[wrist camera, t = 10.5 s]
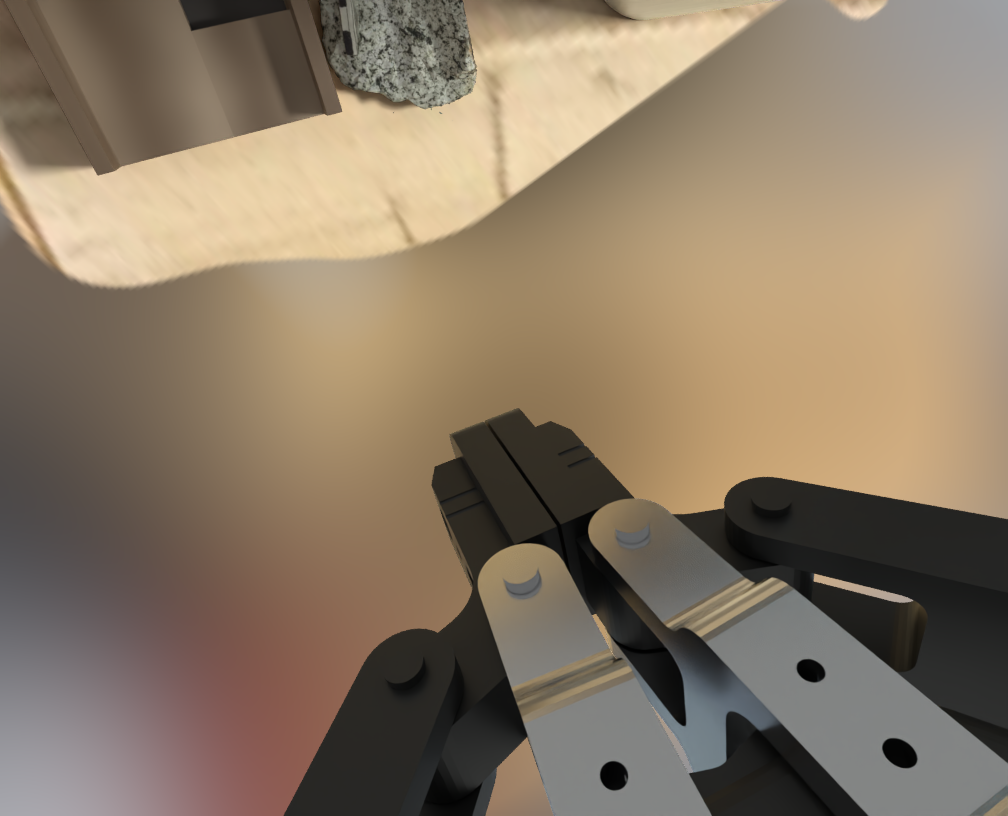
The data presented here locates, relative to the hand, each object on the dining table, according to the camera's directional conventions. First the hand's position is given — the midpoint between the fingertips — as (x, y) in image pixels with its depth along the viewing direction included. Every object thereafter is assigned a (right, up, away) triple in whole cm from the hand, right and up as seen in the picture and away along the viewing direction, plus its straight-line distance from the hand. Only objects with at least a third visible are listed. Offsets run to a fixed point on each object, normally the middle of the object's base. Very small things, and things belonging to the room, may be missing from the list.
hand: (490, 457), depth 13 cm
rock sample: (-6, +23, +23) cm, 33 cm away
